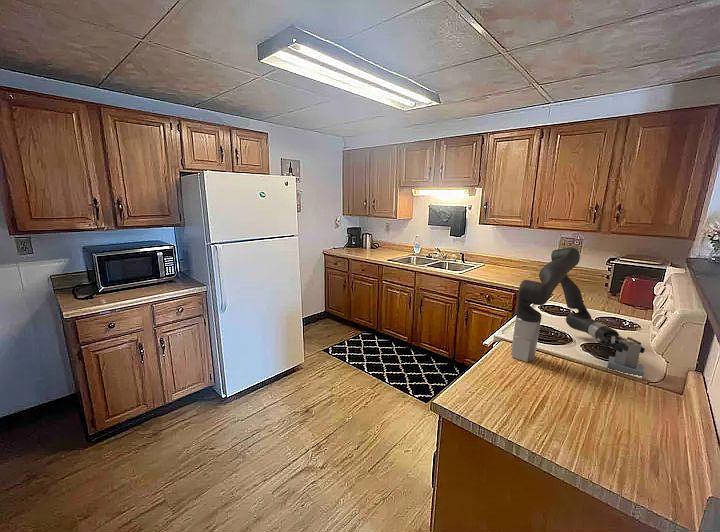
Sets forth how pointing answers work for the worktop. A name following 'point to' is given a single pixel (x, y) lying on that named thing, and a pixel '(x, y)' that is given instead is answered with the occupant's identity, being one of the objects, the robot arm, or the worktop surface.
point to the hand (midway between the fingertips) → (632, 350)
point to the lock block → (628, 354)
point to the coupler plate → (625, 368)
